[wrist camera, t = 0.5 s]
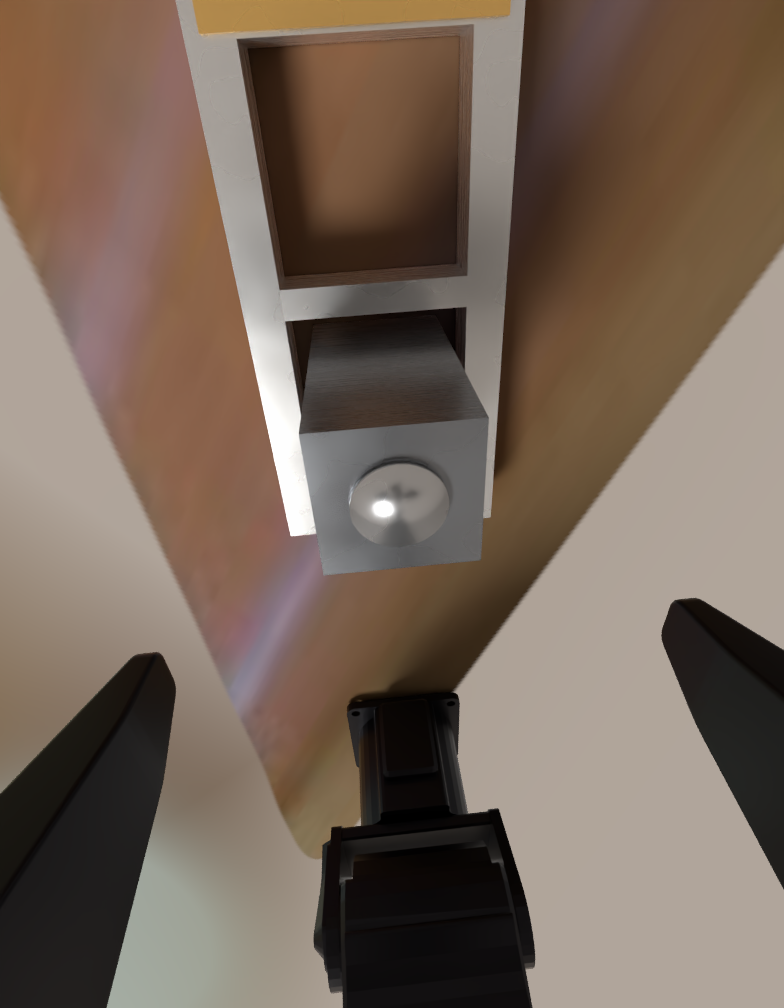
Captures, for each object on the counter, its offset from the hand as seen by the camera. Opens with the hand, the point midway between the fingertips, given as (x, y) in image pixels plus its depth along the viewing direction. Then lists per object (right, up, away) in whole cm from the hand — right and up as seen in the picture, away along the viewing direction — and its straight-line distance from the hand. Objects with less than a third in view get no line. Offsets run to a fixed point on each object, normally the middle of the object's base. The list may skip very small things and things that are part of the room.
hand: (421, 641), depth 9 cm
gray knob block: (-1, +7, +10) cm, 12 cm away
